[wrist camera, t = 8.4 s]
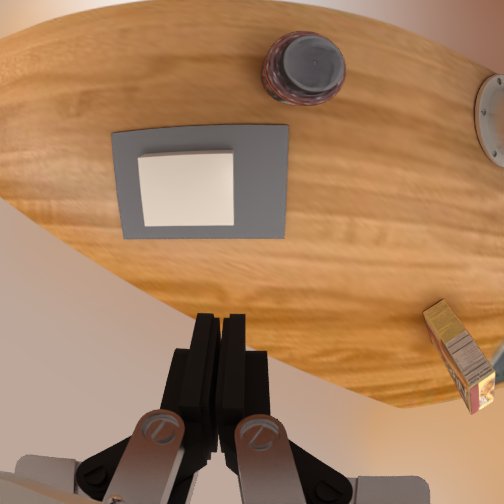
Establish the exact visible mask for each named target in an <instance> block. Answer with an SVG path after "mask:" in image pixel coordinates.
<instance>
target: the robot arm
mask: <svg viewBox="0 0 504 504" xmlns="http://www.w3.org/2000/svg"><path fill="white" fill-rule="evenodd" d="M475 124H476V130H477V135H478V138H479V141H480V144H481V146H482V149H483V150H484V152H485V154H486V155H487V157H488V158H489V159H490V160H491V161H492V162H493V163H495V164H496V165H498V166H500V167H503V168H504V74H497V75H493V76H491V77H489V78H488V79H487V80H486V81H484V83H483V84H482V86H481V88H480V90H479V93H478V95H477V100H476V106H475ZM218 434H219V440H220V446H221V452H222V453H225V459H226V466H227V467H228V468H229V469H231V470H232V471H233V472H234V473H235V474H237V476H238V483H239V488H240V494H241V500H242V504H430V489H429V486H428V484H427V482H426V481H425V480H424V479H422V478H421V477H418V476H386V477H385V476H375V477H374V476H358V477H357V478H346V477H345V476H344V475H342V474H341V473H339V472H337V471H336V470H334V469H332V468H331V467H329V466H328V465H326V464H324V463H323V462H321V461H320V460H318V459H317V458H315V457H314V456H312V455H311V454H309V453H308V452H306V451H305V450H303V449H302V448H300V447H299V446H297V445H296V444H295V443H293V442H292V441H290V440H289V439H288V437H287V433H286V430H285V428H284V426H283V424H282V423H281V422H280V421H279V420H278V419H276V418H274V417H272V416H271V415H270V397H269V377H268V359H267V351H246V348H245V314H230V318H224V320H223V329H222V338H221V333H220V319H219V318H214V314H212V313H198V314H197V318H196V322H195V327H194V331H193V336H192V341H191V345H190V349H179V348H176V349H175V352H174V355H173V358H172V362H171V366H170V370H169V374H168V378H167V382H166V386H165V390H164V394H163V398H162V402H161V407H160V409H158V410H153V411H150V412H148V413H146V414H145V415H143V416H142V417H141V418H140V420H139V421H138V423H137V425H136V427H135V430H134V432H133V434H132V435H131V436H130V437H128V438H126V439H124V440H122V441H121V442H119V443H117V444H115V445H113V446H111V447H109V448H107V449H105V450H104V451H102V452H100V453H98V454H96V455H94V456H92V457H90V458H88V459H87V460H85V461H83V462H79V461H76V460H75V459H66V458H55V457H45V456H38V455H25V456H23V457H21V458H20V459H19V460H18V461H17V464H16V468H15V473H10V472H2V471H0V504H190V500H191V497H192V493H193V490H194V487H195V483H196V480H197V476H198V470H200V469H201V468H203V467H204V466H206V465H207V460H210V459H211V452H217V446H218Z"/></svg>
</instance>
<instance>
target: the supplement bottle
mask: <svg viewBox="0 0 504 504" xmlns="http://www.w3.org/2000/svg"><path fill="white" fill-rule="evenodd" d="M345 76H346V65H345V61H344V58H343V55H342V53H341V52H340V50H339V49H338V48H337V46H336V45H335V44H334V43H333V42H332V41H330V40H329V39H328V38H326V37H324V36H322V35H320V34H318V33H314V32H309V31H297V32H292V33H289V34H287V35H284V36H283V37H281V38H280V39H278V40H277V41H276V42H275V43H274V44H273V45H272V47H271V48H270V50H269V51H268V53H267V56H266V58H265V61H264V63H263V66H262V71H261V79H262V83H263V85H264V87H265V89H266V91H267V92H268V93H269V95H271V96H272V97H273V98H274V99H276V100H277V101H280V102H282V103H285V104H289V105H303V106H311V105H317V104H321V103H324V102H326V101H328V100H330V99H331V98H333V97H334V96H335V95H336V94H337V93H338V92H339V91H340V89H341V88H342V85H343V83H344V81H345Z"/></svg>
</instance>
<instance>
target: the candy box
mask: <svg viewBox="0 0 504 504" xmlns="http://www.w3.org/2000/svg"><path fill="white" fill-rule="evenodd" d="M423 314H424V317H425V320H426V324H427V327H428V330H429V333H430V337H431V340H432V343H433V345H434V347H435V349H436V350H437V352H438V354H439V356H440V357H441V359H442V361H443V363H444V364H445V366H446V368H447V370H448V372H449V373H450V375H451V377H452V379H453V381H454V383H455V385H456V387H457V389H458V390H459V392H460V394H461V396H462V398H463V400H464V402H465V404H466V406H467V408H468V410H469V412H470V414H471V415H472V414H474V413H475V412H477V411H478V410H480V409H482V408H483V407H485V406H486V405H488V404H489V403H491V402H492V401H493V400H494V389H495V370H494V369H493V367H492V366H491V364H490V363H489V361H488V360H487V358H486V357H485V355H484V354H483V352H482V351H481V349H480V348H479V346H478V345H477V343H476V342H475V341H474V339H473V338H472V336H471V335H470V334H469V332H468V331H467V329H466V328H465V327H464V325H463V324H462V322H461V321H460V320H459V318H458V317H457V316H456V314H455V313H454V312H453V310H452V309H451V308H450V306H449V305H448V304H447V302H446V301H445V300H444V299H442V300H441V301H440V302H438V303H437V304H435V305H434V306H432V307H430V308H429V309H427V310H426V311H424V312H423Z"/></svg>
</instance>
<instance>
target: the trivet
mask: <svg viewBox="0 0 504 504" xmlns="http://www.w3.org/2000/svg"><path fill="white" fill-rule="evenodd" d="M288 135H289V126H288V125H202V126H182V127H168V128H155V129H145V130H135V131H126V132H118V133H112V134H111V137H112V150H113V161H114V171H115V180H116V189H117V197H118V204H119V211H120V218H121V225H122V231H123V237H124V239H284V235H285V215H286V193H287V167H288ZM206 150H234V199H235V219H234V225H209V226H145V223H144V215H143V207H142V198H141V189H140V178H139V167H138V157H140V156H142V155H144V154H149V153H164V152H181V151H206Z"/></svg>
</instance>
